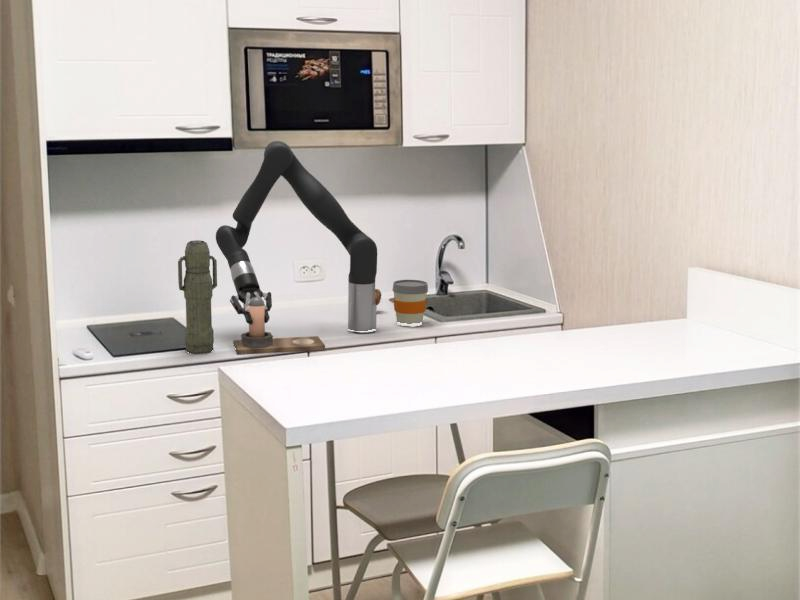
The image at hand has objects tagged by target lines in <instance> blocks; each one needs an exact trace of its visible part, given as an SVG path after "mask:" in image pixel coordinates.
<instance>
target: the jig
mask: <svg viewBox="0 0 800 600" xmlns="http://www.w3.org/2000/svg"><path fill="white" fill-rule="evenodd" d="M240 336H241V339H233V342H232V345H233V344H234V345H233V347H234V346H235V348H236V350H235V353H236V355H253V354H255V355H257V354H273V353H274V354H275V353H276V354H277V353H291V352H293V353H295V352H309V351H310V352H312V351H326V345H325V343H324V342H323V340H322V339H321V338H320V337H319V336H318V335H315V336H313V335H312V336H295V337H292V336H291V337H277V338H275V337H273V334H272V333H271V332H270V331H269V332H268V331H265V337H261V338H252V337H249V331H247V332H244V333H241V335H240ZM235 348H234V349H235Z"/></svg>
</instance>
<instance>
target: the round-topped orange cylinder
mask: <svg viewBox="0 0 800 600" xmlns="http://www.w3.org/2000/svg"><path fill="white" fill-rule="evenodd" d="M264 301H265V300H264V299H263V298H260V297H253V298H252V299H251V300H250V301H249V312H250V314H251V317H252V320H253V322H252V324H251V325H249V324H248V332H249V337H252V338H261V337H265V332H266V329H265V328H266V326H265V325H266V323H265V306H264V304H265V302H264Z"/></svg>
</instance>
